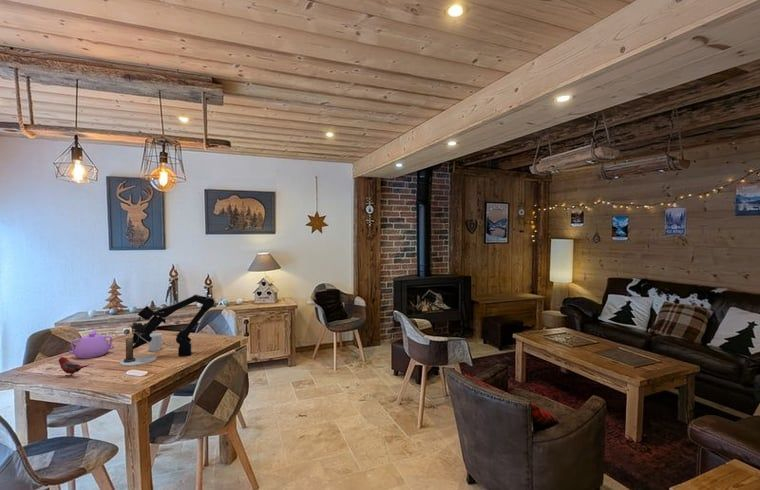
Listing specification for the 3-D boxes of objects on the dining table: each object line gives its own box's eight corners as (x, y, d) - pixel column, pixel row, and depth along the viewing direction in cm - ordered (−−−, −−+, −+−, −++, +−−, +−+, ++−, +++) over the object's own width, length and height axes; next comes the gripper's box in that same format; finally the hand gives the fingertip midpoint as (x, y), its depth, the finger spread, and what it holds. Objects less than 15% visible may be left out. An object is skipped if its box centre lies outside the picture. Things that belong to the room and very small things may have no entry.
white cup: (155, 352, 232) (155, 336, 232) (144, 351, 233) (144, 335, 233) (165, 348, 239) (164, 333, 239) (154, 347, 241) (154, 332, 241)
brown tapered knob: (136, 359, 215) (136, 337, 215) (133, 362, 209) (133, 339, 209) (125, 360, 213) (125, 337, 213) (122, 363, 208) (122, 340, 207)
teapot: (115, 347, 242) (115, 326, 241) (113, 356, 223) (113, 333, 223) (72, 353, 230) (72, 331, 229) (66, 362, 211) (66, 338, 211)
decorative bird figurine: (60, 374, 192) (60, 355, 192) (91, 376, 190) (91, 357, 190) (55, 376, 189) (55, 357, 189) (86, 378, 187) (86, 358, 187)
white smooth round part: (159, 354, 226) (159, 353, 226) (152, 364, 209) (152, 362, 209) (125, 358, 220) (125, 356, 220) (115, 367, 203) (115, 366, 203)
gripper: (137, 314, 221) (115, 336, 214) (145, 319, 208) (122, 342, 201) (152, 325, 227) (131, 347, 219) (160, 330, 214) (138, 353, 206)
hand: (130, 347), depth 211 cm, fingers open, 9 cm apart
